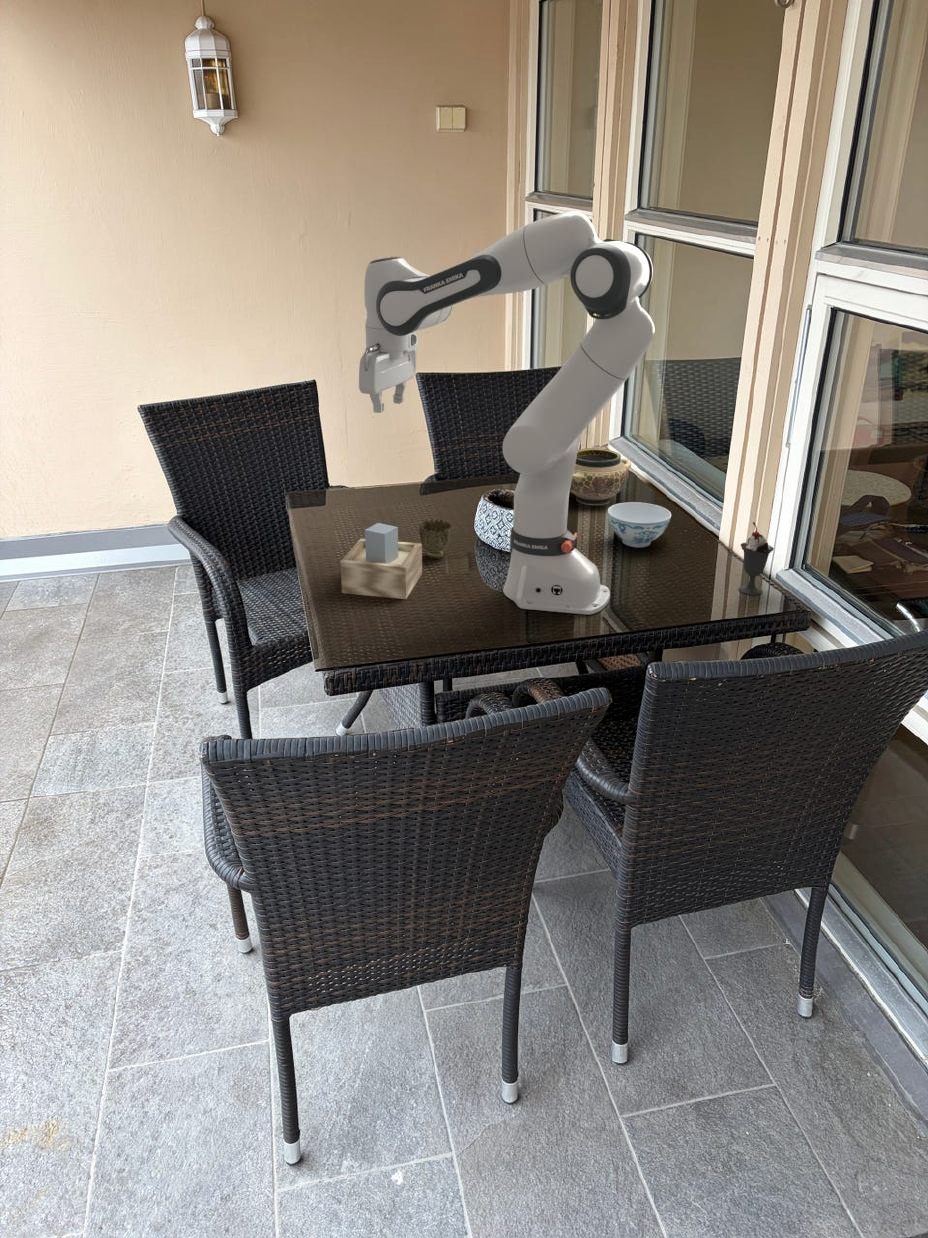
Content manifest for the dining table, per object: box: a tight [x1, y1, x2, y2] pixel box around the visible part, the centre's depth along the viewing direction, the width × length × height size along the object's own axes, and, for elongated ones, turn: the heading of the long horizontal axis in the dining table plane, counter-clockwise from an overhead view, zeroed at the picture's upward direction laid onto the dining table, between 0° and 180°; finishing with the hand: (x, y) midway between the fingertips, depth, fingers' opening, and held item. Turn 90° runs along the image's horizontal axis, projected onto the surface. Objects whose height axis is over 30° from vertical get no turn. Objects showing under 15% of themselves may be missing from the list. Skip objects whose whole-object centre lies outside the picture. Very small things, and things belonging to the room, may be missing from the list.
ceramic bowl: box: [569, 447, 632, 506], centre depth 251 cm, size 24×18×15 cm
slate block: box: [364, 522, 399, 564], centre depth 198 cm, size 5×5×7 cm
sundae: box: [738, 521, 775, 596], centre depth 197 cm, size 7×7×15 cm
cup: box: [418, 518, 452, 560], centre depth 214 cm, size 7×7×8 cm
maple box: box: [340, 538, 423, 600], centre depth 200 cm, size 14×14×8 cm
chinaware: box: [607, 501, 672, 548], centre depth 224 cm, size 15×15×8 cm
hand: (388, 407), depth 198 cm, fingers open, 8 cm apart
